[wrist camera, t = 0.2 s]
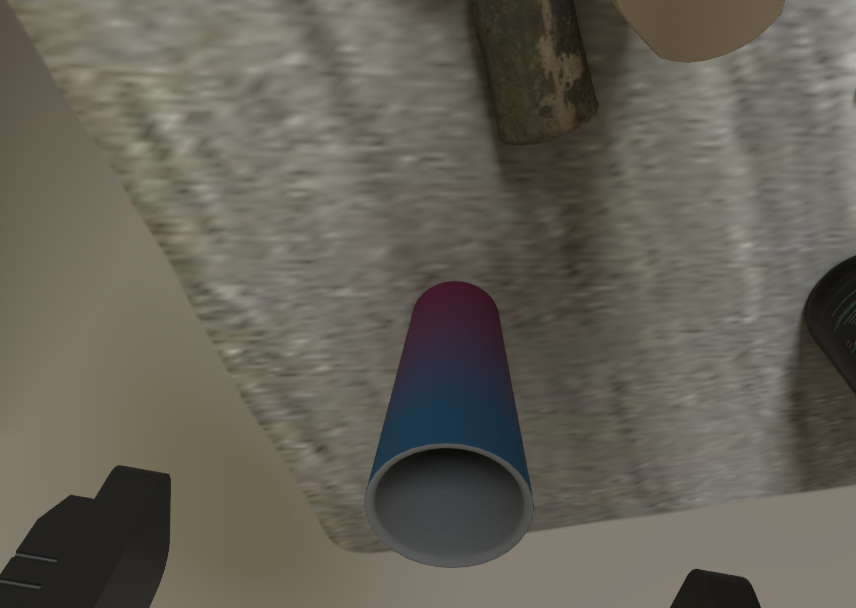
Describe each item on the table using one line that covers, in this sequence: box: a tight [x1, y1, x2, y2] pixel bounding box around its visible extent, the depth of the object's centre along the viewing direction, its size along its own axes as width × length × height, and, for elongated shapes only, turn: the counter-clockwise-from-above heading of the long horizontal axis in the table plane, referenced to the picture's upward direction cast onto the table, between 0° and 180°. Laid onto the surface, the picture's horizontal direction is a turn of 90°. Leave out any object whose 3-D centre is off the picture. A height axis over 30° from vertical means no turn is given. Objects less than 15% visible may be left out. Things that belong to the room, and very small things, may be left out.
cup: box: [365, 281, 534, 568], centre depth 36 cm, size 7×7×15 cm
